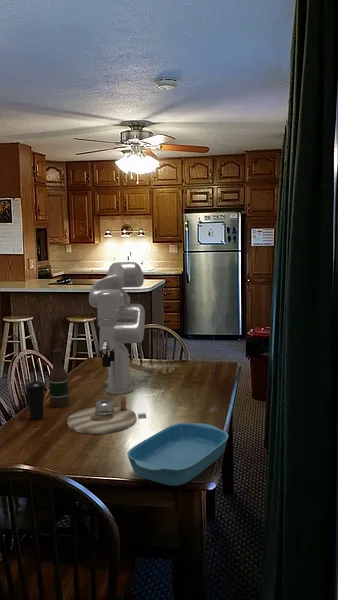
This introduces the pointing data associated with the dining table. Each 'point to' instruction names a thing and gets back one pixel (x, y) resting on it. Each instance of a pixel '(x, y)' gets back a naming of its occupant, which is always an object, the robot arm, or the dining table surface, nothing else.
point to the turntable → (102, 420)
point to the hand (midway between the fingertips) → (108, 363)
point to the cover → (104, 407)
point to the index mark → (142, 415)
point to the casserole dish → (178, 453)
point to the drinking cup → (35, 398)
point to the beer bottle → (58, 382)
